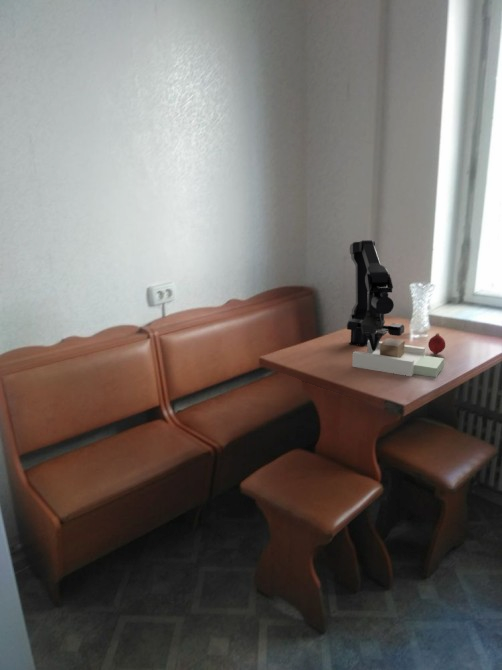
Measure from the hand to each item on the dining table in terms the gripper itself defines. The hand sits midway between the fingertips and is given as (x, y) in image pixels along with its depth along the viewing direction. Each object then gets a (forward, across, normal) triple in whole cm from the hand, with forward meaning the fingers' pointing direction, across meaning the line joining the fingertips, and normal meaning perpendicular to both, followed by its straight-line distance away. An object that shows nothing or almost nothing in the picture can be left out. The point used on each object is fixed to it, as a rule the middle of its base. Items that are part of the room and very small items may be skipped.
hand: (374, 350), depth 175 cm
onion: (+4, +17, +18) cm, 25 cm away
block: (+1, +6, 0) cm, 6 cm away
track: (+4, +5, 0) cm, 7 cm away
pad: (+4, +19, 0) cm, 19 cm away
